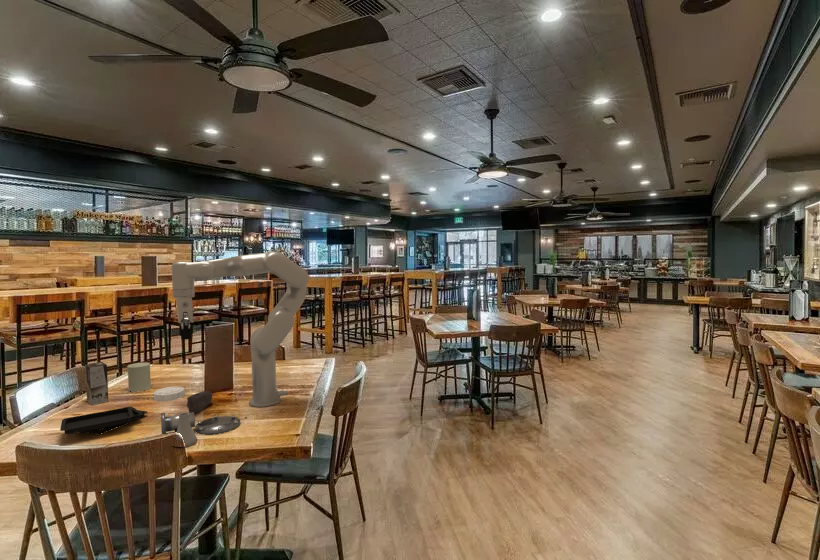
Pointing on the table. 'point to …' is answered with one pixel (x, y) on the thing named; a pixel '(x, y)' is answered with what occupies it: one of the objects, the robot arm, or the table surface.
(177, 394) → the mooncake
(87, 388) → the coffee box
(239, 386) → the table surface
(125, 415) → the tray
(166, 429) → the pipe fitting
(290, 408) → the table surface
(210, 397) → the perforated stone tool
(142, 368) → the can
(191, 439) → the flask
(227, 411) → the table surface
